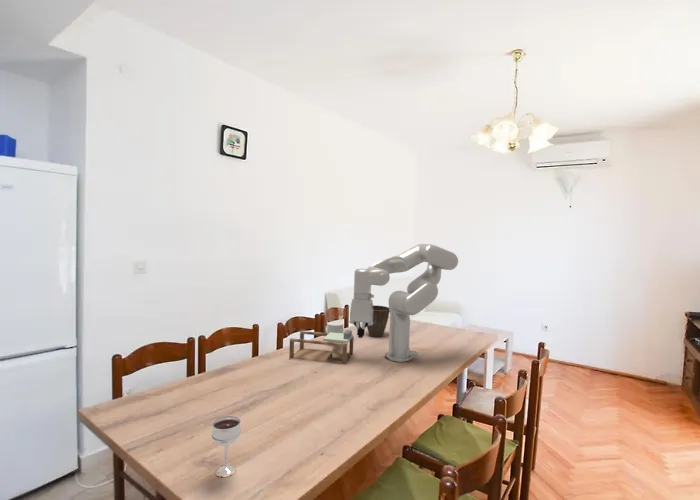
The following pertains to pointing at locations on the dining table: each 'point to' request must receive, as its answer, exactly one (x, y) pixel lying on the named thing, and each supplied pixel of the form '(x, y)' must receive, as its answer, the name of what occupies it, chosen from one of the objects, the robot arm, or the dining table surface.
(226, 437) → the wineglass
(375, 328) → the plant pot
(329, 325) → the cup
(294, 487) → the dining table surface
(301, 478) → the dining table surface
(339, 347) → the maple block
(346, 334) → the lid
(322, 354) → the wooden table frame
